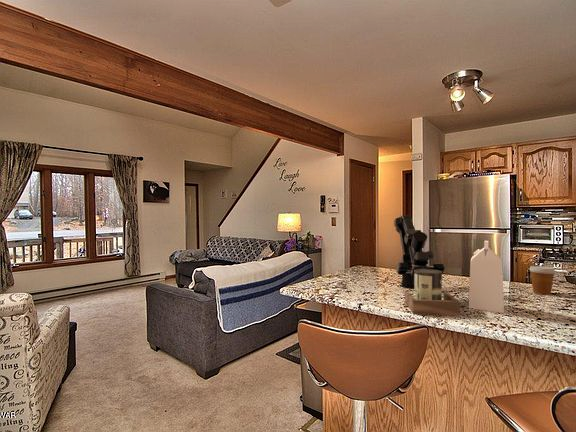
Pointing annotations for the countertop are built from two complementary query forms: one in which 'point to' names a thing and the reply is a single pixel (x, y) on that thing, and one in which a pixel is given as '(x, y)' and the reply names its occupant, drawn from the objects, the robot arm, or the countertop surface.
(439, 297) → the coffee can
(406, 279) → the robot arm
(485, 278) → the milk
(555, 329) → the countertop surface
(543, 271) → the disposable coffee cup
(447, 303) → the brown tray
